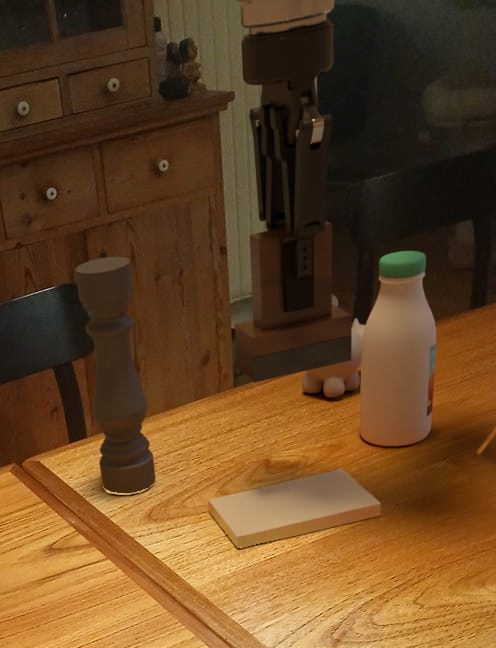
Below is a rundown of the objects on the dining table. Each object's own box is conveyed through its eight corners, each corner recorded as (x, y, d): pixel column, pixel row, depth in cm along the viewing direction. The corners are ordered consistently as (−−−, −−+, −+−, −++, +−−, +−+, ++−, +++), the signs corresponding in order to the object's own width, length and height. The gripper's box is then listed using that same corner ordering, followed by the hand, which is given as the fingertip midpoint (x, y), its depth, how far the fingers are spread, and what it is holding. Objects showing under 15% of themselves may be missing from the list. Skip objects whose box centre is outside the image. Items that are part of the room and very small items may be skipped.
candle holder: (153, 468, 117) (130, 252, 104) (157, 491, 112) (134, 267, 98) (101, 476, 118) (72, 262, 104) (103, 499, 113) (73, 277, 99)
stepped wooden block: (330, 346, 101) (330, 213, 94) (351, 360, 97) (353, 222, 90) (236, 367, 101) (229, 235, 94) (253, 382, 97) (247, 246, 90)
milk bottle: (416, 451, 109) (427, 267, 98) (348, 443, 114) (352, 266, 103) (440, 423, 114) (453, 245, 103) (373, 417, 118) (379, 245, 107)
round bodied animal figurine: (401, 375, 127) (404, 309, 123) (333, 405, 123) (334, 338, 119) (358, 364, 133) (360, 300, 128) (292, 393, 129) (291, 328, 124)
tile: (341, 480, 107) (342, 468, 106) (380, 515, 99) (381, 502, 98) (208, 512, 106) (207, 499, 105) (237, 549, 99) (237, 536, 98)
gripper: (213, 32, 89) (228, 294, 102) (278, 35, 76) (285, 335, 89) (293, 15, 89) (297, 278, 102) (371, 15, 76) (365, 316, 89)
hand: (292, 304), depth 96 cm, fingers closed on stepped wooden block, 3 cm apart
